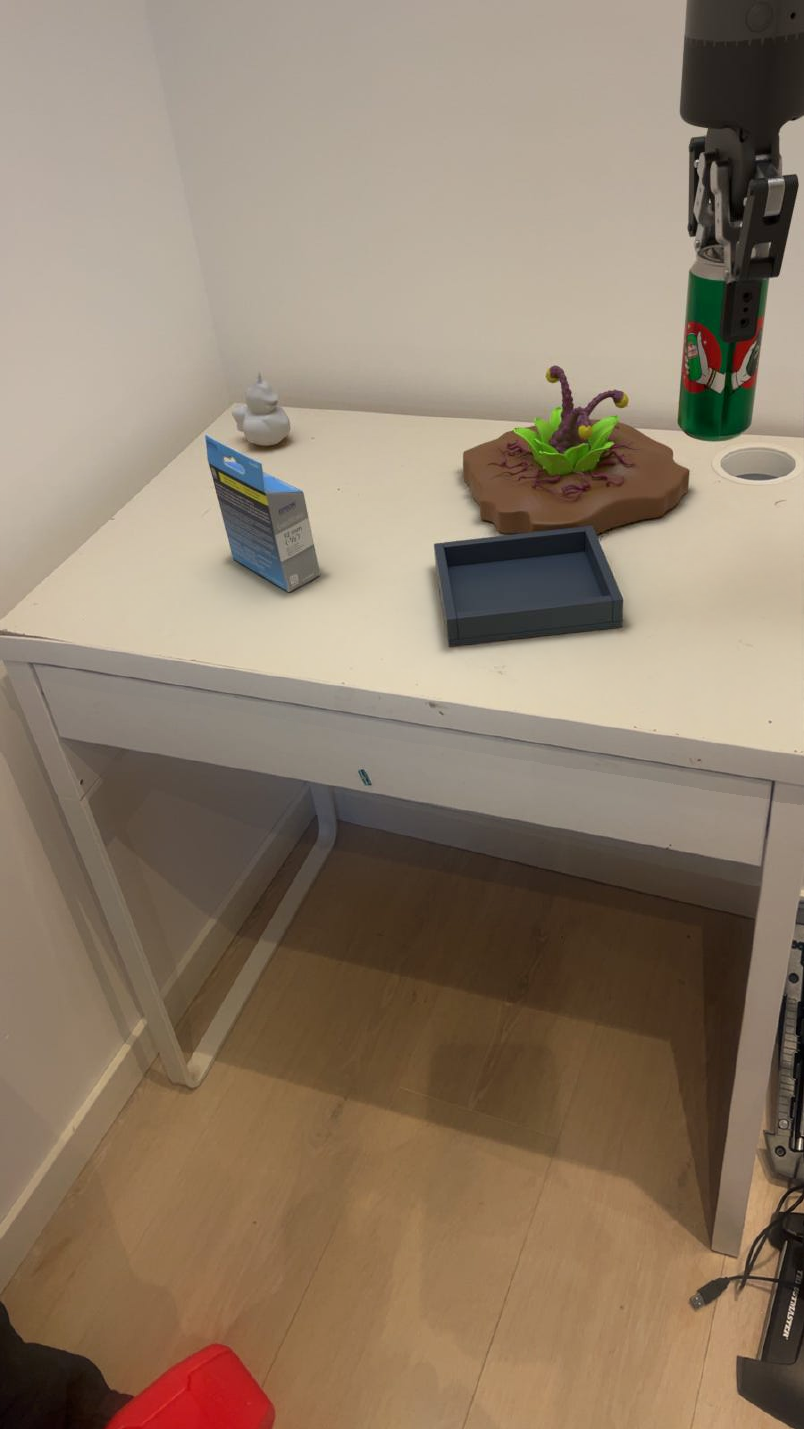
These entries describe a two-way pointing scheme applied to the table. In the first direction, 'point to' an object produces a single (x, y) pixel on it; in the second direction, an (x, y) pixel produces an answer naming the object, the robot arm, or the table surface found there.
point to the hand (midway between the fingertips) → (723, 324)
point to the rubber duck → (262, 415)
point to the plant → (573, 471)
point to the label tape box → (263, 518)
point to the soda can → (715, 357)
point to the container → (526, 586)
